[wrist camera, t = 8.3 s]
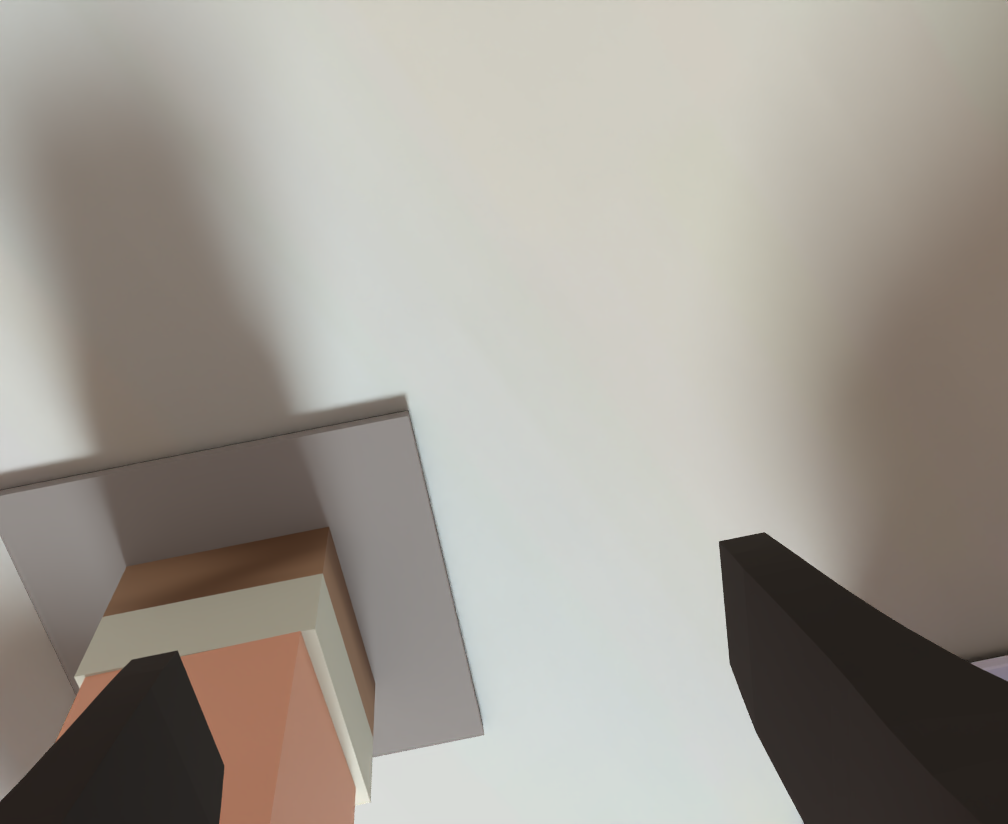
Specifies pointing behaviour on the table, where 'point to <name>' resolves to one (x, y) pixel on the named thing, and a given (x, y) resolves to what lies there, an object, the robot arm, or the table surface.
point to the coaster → (257, 516)
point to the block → (264, 732)
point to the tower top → (244, 622)
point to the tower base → (252, 585)
